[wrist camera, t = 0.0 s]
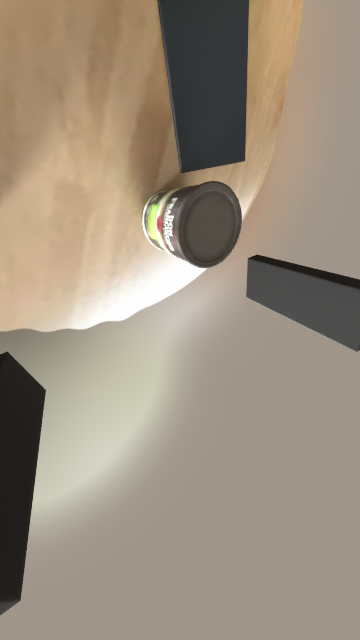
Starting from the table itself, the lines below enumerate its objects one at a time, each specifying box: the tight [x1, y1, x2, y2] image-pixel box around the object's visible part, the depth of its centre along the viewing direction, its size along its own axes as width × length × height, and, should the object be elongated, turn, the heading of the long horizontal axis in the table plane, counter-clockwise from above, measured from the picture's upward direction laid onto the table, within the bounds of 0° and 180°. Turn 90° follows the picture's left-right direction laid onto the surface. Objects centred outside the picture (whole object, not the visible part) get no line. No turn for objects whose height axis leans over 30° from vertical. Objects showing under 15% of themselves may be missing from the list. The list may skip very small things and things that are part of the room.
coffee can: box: [142, 181, 242, 268], centre depth 30 cm, size 10×10×14 cm
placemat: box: [158, 0, 249, 173], centre depth 29 cm, size 20×14×1 cm
